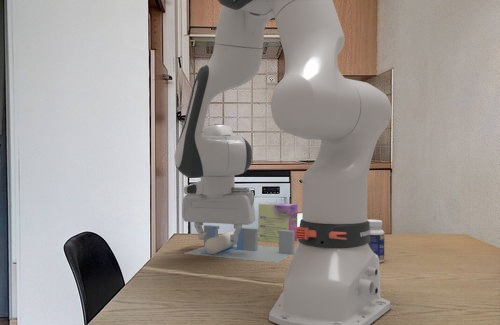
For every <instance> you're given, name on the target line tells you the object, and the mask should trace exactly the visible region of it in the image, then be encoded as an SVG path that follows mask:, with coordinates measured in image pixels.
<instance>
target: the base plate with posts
mask: <svg viewBox="0 0 500 325" xmlns="http://www.w3.org/2000/svg"><path fill="white" fill-rule="evenodd" d="M219 229H220V225H212V224H205V225H203V231H204V232H207V235H206V236H207V238H206V239H204V240H203V246H201V247H198V248H195V249H192V250H189V251H186V252H183V255H192V256H193V255H194V256H204V257H215V258H223V259H234V260H242V261H243V260H245V261H254V262H264V263H273V264H274V263H275V264H278V263H280V262H282V261H283V260H284V261H285V259H288V258H289V257H291V256H294V254H295V250H296V249H297V248H295V242H294V231H289V230H278V231H277V234H279V243H278V246H268V245H267V246H266V245H259V243H258V241H259V240H258V232H259V228H256V227H244V226H242V229H241V231H240V233H239V234H238V241H237V245H235V246H233V247H230V248H228V249H225V250H223V251H220V252H218V253H215V254H209V253H208V252H207V251H206V249H205V242H206V241H207V240H208V239H210V238H213V237H216V236H219Z"/></svg>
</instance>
